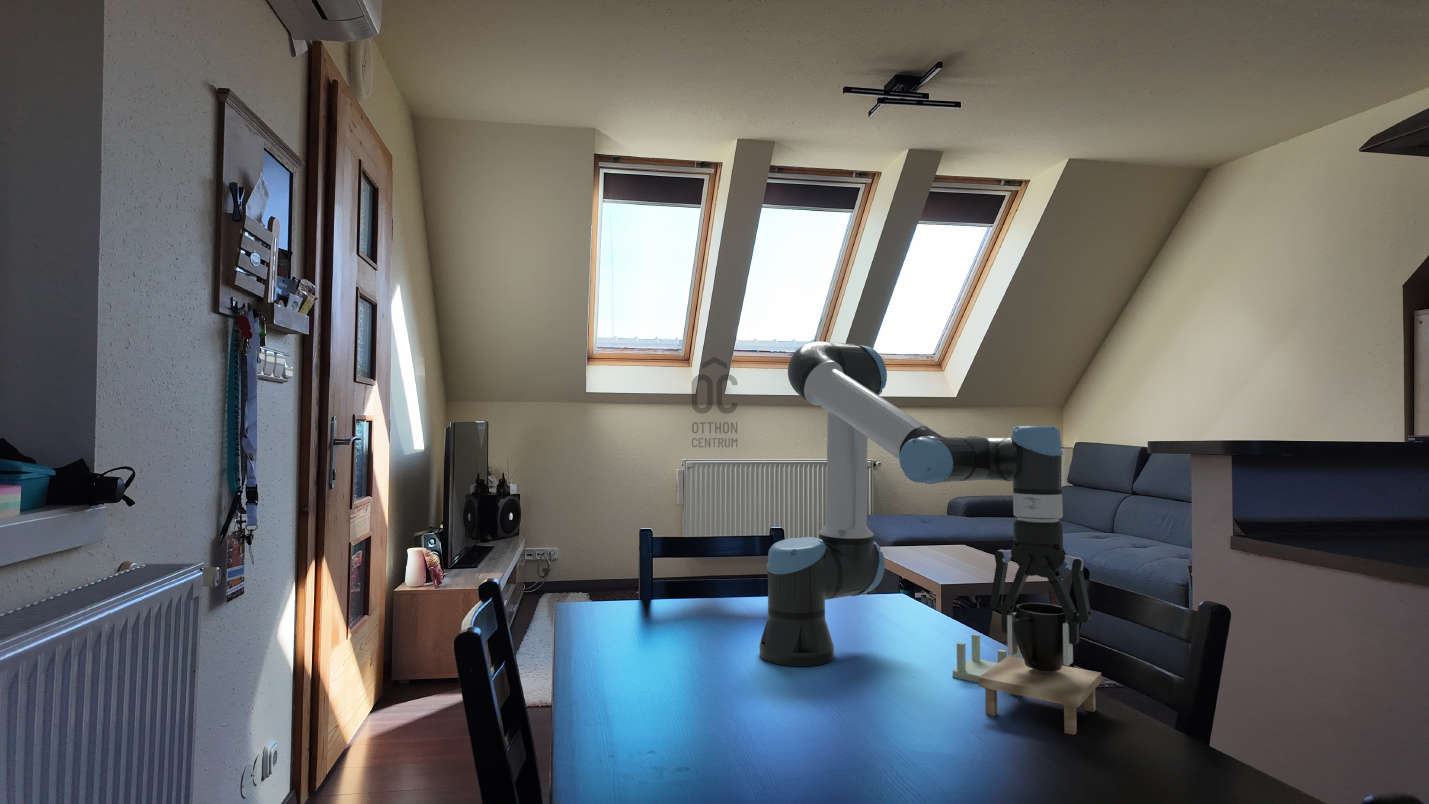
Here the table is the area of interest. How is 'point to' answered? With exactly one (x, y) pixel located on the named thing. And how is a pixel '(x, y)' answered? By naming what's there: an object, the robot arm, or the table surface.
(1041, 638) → the mug
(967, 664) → the upturned footstool
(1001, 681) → the oak stool
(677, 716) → the table surface
